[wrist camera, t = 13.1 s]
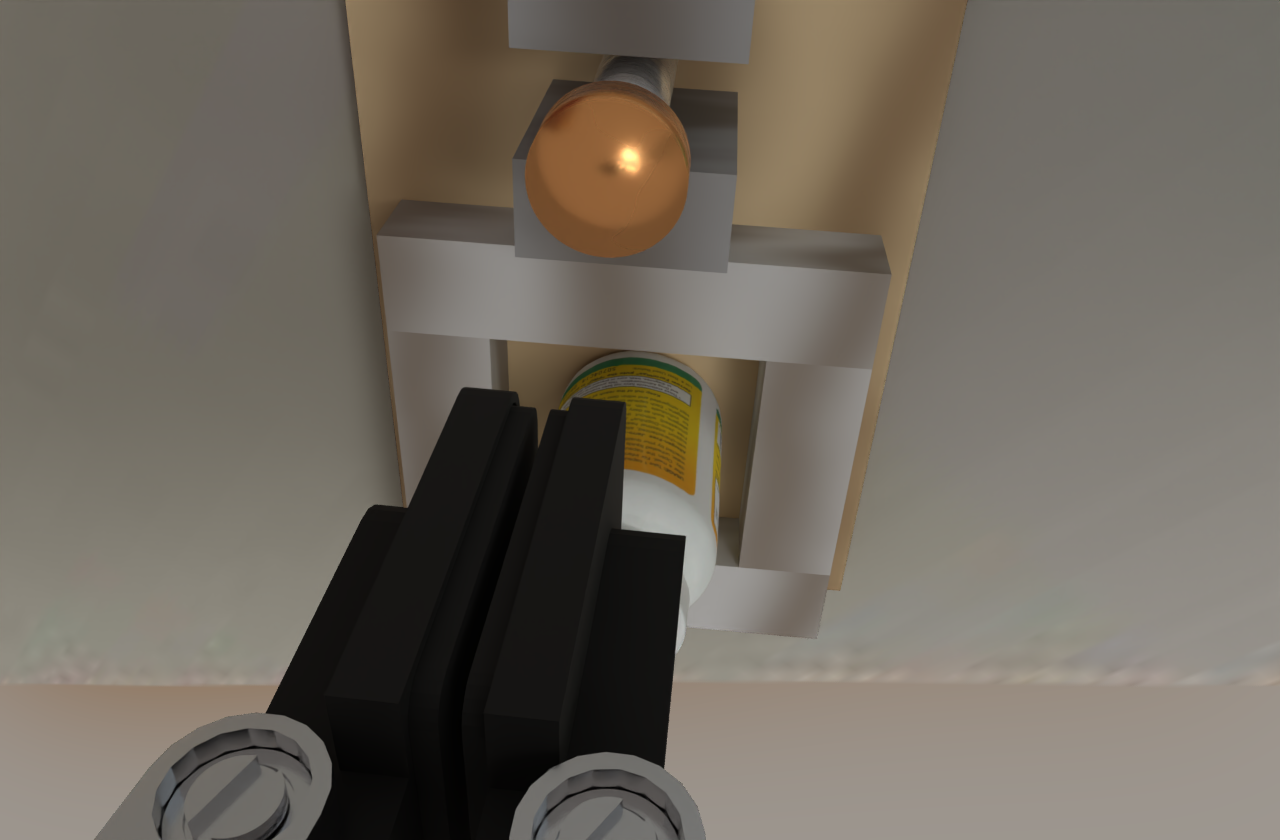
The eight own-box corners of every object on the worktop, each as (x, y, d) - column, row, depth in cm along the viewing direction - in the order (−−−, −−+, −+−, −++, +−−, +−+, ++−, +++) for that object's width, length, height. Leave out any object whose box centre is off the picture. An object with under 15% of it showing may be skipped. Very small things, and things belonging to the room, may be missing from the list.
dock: (983, -118, 25) (1055, -68, 19) (837, 571, 38) (855, 723, 32) (340, -157, 26) (225, -119, 20) (415, 534, 39) (359, 676, 33)
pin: (708, -11, 25) (694, 107, 18) (699, 109, 27) (682, 263, 19) (587, -19, 25) (523, 94, 18) (586, 101, 27) (526, 251, 20)
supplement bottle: (750, 442, 34) (753, 662, 26) (614, 499, 36) (578, 722, 28) (668, 316, 31) (643, 518, 24) (527, 385, 33) (460, 593, 26)
